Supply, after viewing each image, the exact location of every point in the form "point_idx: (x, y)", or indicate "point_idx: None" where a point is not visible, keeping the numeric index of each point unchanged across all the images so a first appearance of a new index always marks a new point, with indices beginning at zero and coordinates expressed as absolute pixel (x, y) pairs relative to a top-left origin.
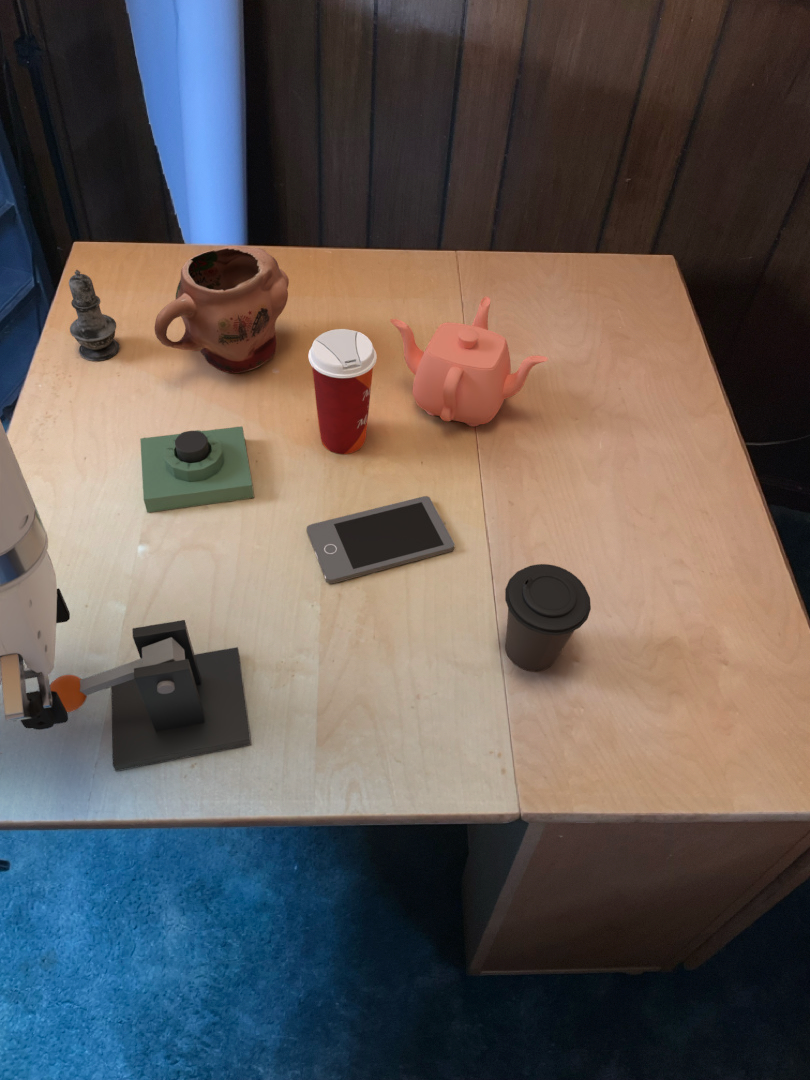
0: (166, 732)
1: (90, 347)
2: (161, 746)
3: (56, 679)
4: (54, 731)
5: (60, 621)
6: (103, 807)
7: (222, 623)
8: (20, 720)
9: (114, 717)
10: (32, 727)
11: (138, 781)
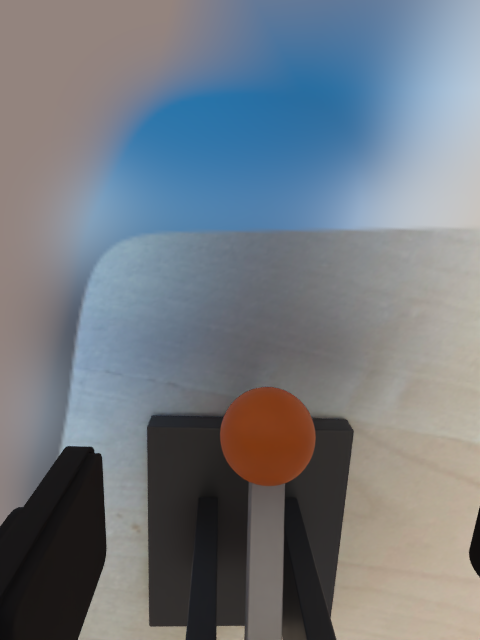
0: (192, 513)
1: None
2: (166, 505)
3: (299, 439)
4: (258, 315)
5: (476, 542)
6: (88, 393)
7: (391, 587)
8: (42, 482)
9: None
10: (8, 518)
11: (125, 448)
